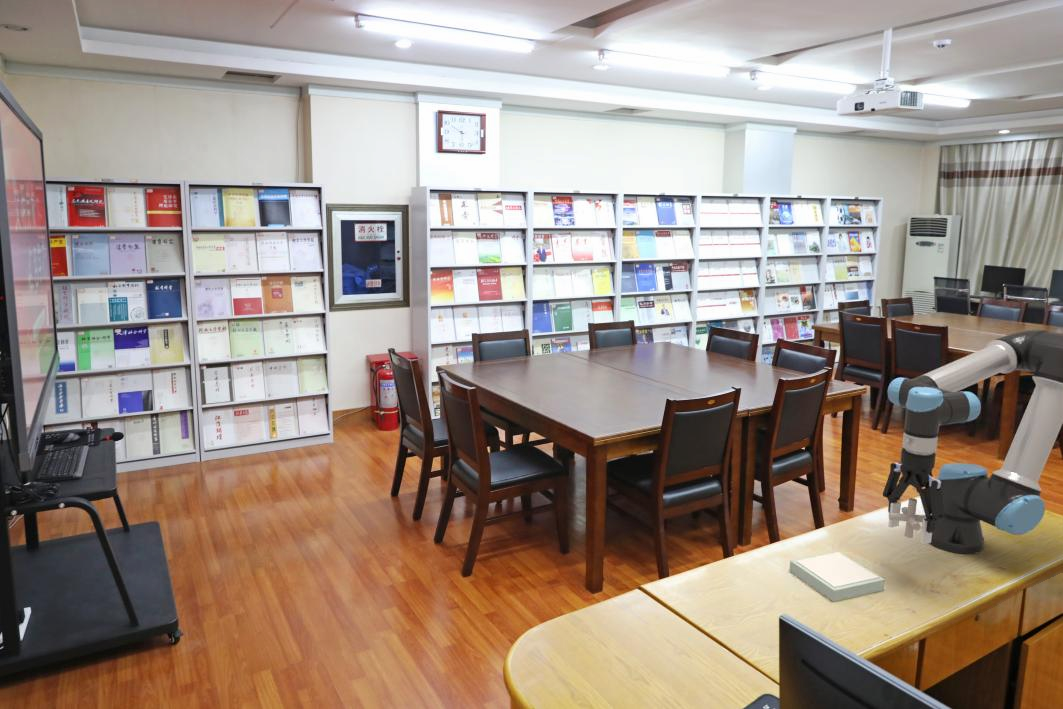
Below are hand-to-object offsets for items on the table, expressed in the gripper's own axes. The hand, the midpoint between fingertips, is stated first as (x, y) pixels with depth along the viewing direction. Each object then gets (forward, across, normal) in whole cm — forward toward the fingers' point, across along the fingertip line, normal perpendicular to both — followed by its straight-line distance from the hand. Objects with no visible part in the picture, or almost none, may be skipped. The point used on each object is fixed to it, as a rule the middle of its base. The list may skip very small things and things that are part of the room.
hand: (909, 534), depth 188 cm
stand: (+13, -7, -16) cm, 22 cm away
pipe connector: (+1, 0, 0) cm, 1 cm away
